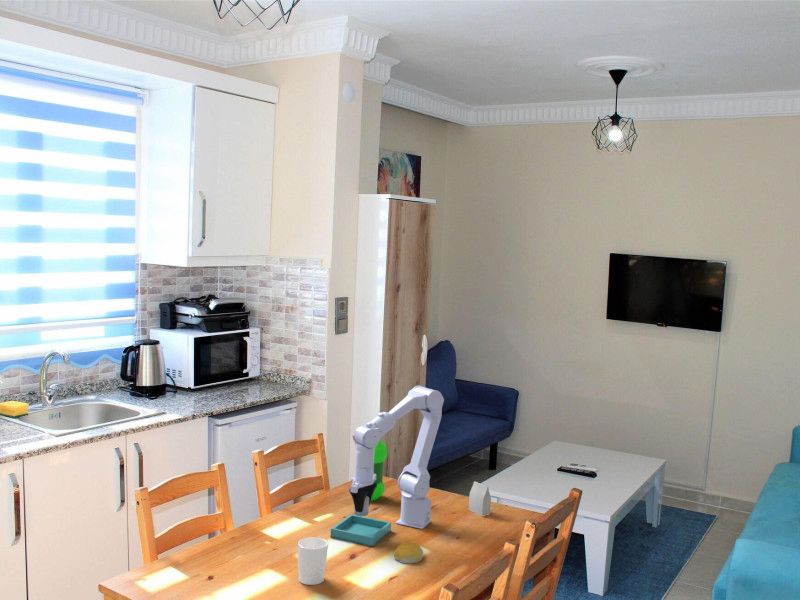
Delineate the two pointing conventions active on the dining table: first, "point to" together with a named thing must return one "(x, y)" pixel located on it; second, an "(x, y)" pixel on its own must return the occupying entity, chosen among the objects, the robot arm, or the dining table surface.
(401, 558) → the bread roll
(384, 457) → the plastic bottle
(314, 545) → the white cup
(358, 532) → the tray
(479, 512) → the white gable top carton
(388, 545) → the dining table surface
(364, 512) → the white cylinder
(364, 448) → the robot arm
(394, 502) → the dining table surface
